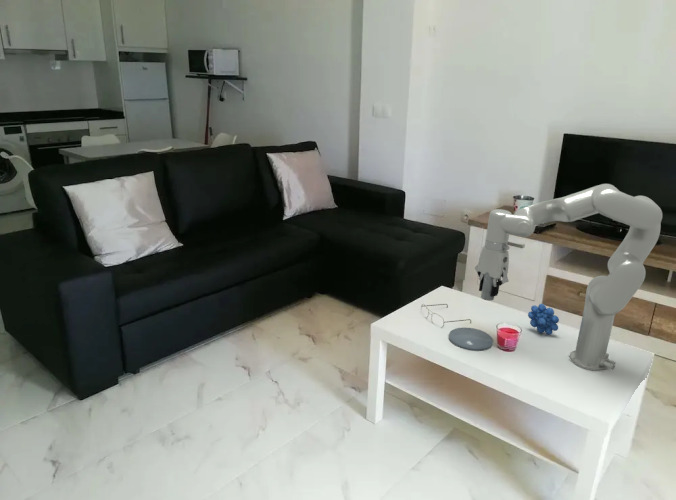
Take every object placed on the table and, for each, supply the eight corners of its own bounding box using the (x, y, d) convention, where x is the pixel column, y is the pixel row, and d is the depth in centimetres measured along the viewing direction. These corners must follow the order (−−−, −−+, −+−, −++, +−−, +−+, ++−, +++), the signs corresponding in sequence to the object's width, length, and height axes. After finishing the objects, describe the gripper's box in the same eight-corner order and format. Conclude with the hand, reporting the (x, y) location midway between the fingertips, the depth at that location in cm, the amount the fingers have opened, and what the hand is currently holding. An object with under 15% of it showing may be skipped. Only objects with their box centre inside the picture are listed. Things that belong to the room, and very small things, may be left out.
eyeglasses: (417, 313, 217) (418, 302, 215) (447, 308, 223) (448, 297, 221) (440, 330, 203) (441, 318, 201) (471, 324, 209) (472, 312, 207)
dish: (501, 344, 193) (502, 341, 193) (471, 355, 185) (472, 352, 184) (469, 326, 206) (469, 324, 205) (439, 336, 197) (440, 333, 197)
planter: (479, 298, 187) (483, 272, 184) (482, 294, 191) (486, 268, 188) (492, 301, 185) (496, 274, 182) (494, 297, 189) (499, 271, 186)
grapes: (522, 333, 202) (527, 304, 198) (526, 326, 208) (531, 299, 204) (554, 341, 197) (559, 312, 193) (557, 334, 202) (563, 306, 198)
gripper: (523, 250, 177) (513, 300, 183) (484, 237, 190) (477, 283, 196) (508, 253, 173) (499, 304, 179) (470, 239, 186) (463, 286, 192)
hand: (488, 292), depth 187 cm, fingers closed on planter, 4 cm apart
